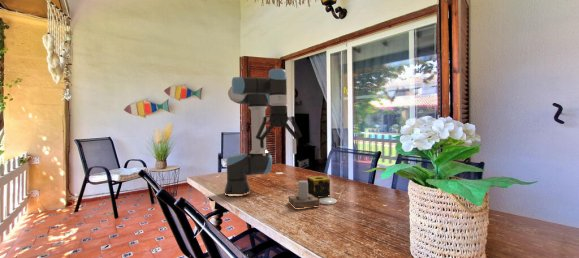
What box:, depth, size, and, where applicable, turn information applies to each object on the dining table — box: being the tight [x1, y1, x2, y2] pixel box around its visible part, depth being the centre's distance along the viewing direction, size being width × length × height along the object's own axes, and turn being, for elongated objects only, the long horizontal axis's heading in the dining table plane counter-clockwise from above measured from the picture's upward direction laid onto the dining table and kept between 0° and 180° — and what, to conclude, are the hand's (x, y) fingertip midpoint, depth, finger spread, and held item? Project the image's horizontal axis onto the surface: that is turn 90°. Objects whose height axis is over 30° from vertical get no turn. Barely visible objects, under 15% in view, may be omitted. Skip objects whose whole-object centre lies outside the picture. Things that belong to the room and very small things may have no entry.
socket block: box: [288, 194, 320, 209], centre depth 136 cm, size 12×12×4 cm
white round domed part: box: [318, 197, 338, 205], centre depth 140 cm, size 10×10×1 cm
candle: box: [306, 175, 331, 197], centre depth 153 cm, size 10×10×10 cm
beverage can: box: [297, 179, 308, 200], centre depth 136 cm, size 5×5×12 cm
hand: (279, 154), depth 117 cm, fingers open, 13 cm apart
